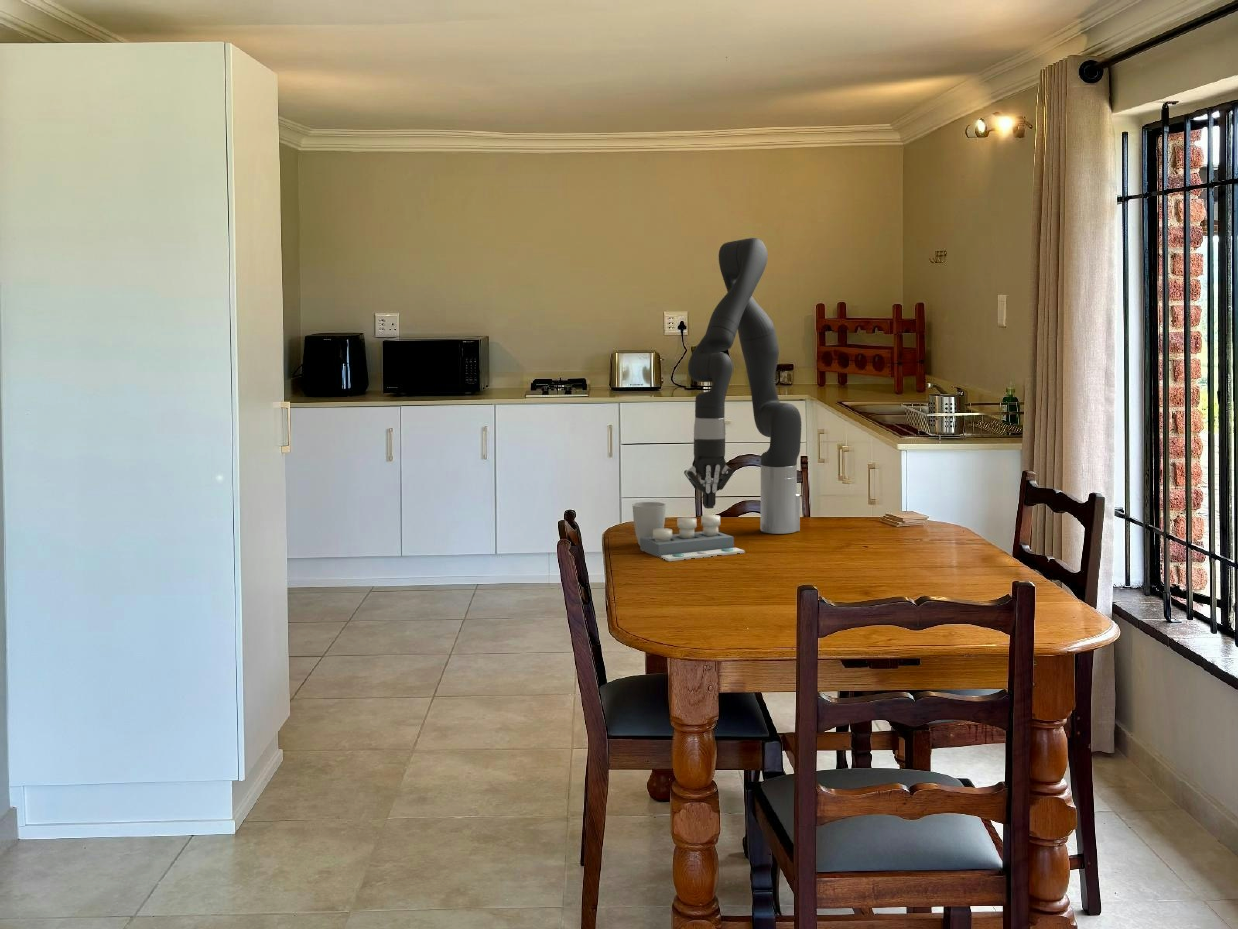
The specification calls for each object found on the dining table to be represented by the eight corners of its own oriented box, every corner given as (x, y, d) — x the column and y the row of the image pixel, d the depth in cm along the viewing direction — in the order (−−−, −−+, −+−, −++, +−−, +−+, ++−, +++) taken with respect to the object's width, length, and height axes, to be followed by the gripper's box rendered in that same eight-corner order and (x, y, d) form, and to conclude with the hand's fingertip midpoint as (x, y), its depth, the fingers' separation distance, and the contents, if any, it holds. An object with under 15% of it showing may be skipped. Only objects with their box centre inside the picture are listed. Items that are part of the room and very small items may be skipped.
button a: (714, 532, 287) (714, 514, 286) (723, 536, 283) (723, 517, 282) (697, 534, 285) (697, 515, 284) (707, 537, 281) (707, 518, 280)
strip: (735, 550, 280) (735, 546, 280) (744, 553, 277) (744, 549, 277) (661, 558, 272) (660, 554, 272) (668, 561, 268) (668, 557, 268)
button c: (667, 546, 282) (666, 527, 281) (675, 549, 278) (675, 530, 277) (649, 548, 280) (649, 529, 279) (658, 551, 276) (658, 532, 275)
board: (713, 542, 290) (713, 530, 290) (733, 549, 281) (733, 537, 281) (640, 549, 282) (640, 537, 282) (659, 557, 273) (658, 544, 273)
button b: (690, 535, 284) (690, 516, 284) (700, 538, 280) (699, 519, 280) (674, 536, 282) (673, 518, 282) (682, 540, 278) (682, 521, 278)
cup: (666, 541, 292) (666, 501, 291) (664, 548, 284) (664, 507, 283) (634, 541, 293) (633, 501, 291) (631, 547, 285) (630, 507, 283)
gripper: (726, 434, 287) (725, 504, 289) (677, 436, 282) (677, 507, 284) (741, 436, 280) (740, 508, 282) (692, 438, 275) (691, 512, 277)
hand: (708, 508), depth 283 cm, fingers closed
